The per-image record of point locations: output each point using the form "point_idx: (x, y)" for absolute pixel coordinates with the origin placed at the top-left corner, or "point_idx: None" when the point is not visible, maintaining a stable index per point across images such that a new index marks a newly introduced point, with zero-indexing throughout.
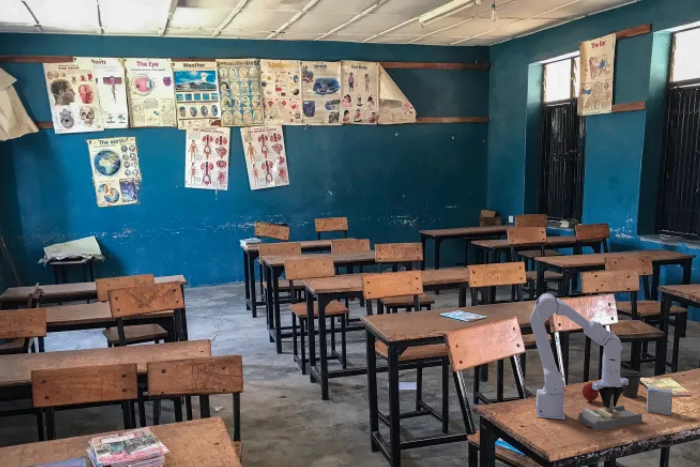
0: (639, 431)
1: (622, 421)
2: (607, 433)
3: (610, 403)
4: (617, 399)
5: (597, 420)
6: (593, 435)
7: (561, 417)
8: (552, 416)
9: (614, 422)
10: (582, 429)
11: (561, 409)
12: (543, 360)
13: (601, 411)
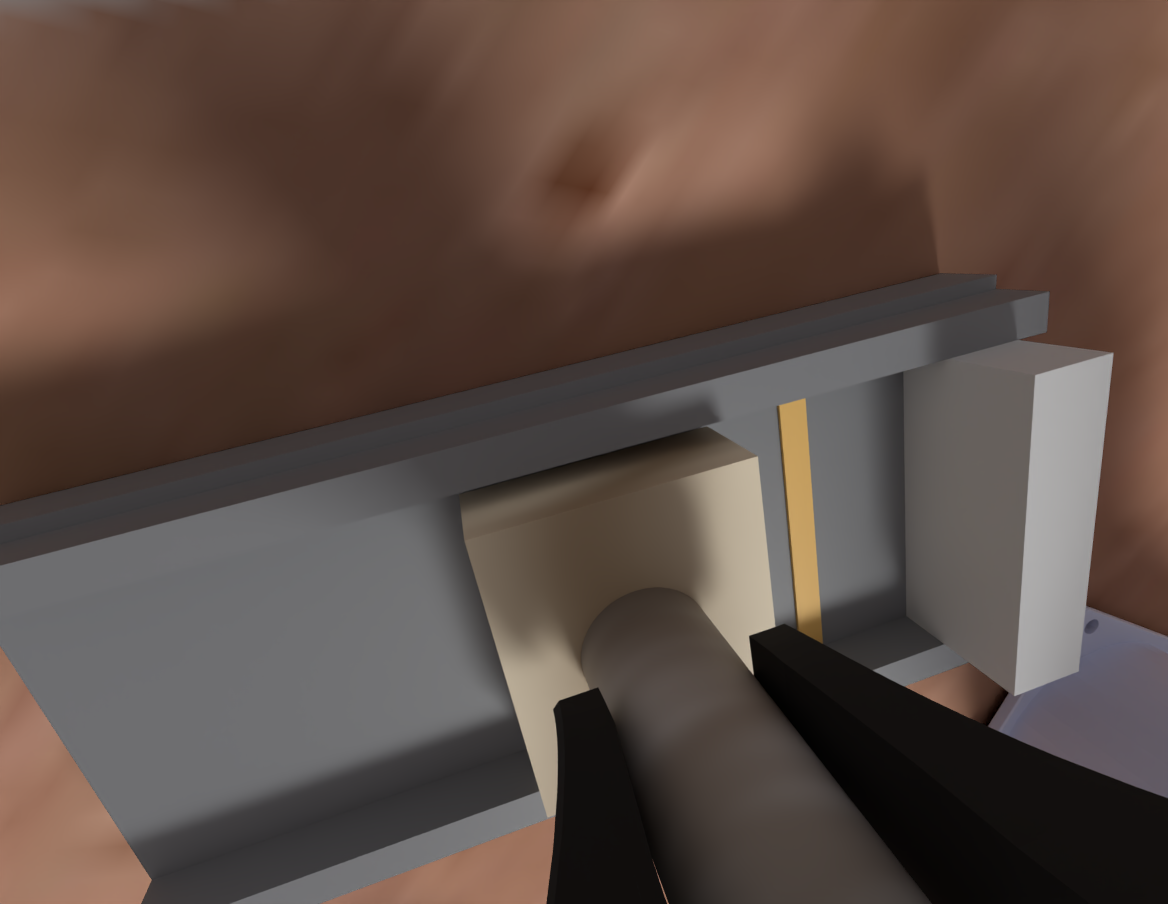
0: (290, 104)
1: (487, 403)
2: (873, 157)
3: (771, 721)
4: (595, 864)
5: (1021, 345)
6: (1080, 139)
7: (1093, 633)
8: (1162, 649)
9: (660, 374)
10: (1069, 343)
11: (1165, 720)
12: None
13: None
